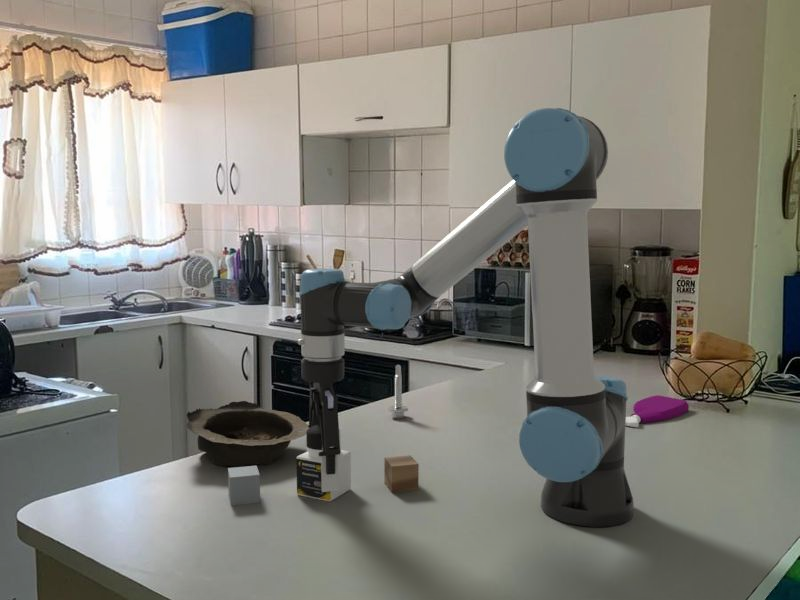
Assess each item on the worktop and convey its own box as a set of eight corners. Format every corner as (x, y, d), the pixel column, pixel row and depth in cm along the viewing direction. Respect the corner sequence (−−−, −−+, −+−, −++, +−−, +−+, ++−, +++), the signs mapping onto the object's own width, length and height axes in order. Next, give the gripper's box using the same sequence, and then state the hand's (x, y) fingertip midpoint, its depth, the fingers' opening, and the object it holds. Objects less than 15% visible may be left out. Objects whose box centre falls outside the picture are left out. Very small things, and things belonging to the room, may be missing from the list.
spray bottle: (692, 413, 196) (643, 434, 179) (652, 404, 203) (601, 424, 186) (693, 401, 195) (644, 421, 178) (652, 393, 203) (601, 412, 186)
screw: (408, 419, 187) (388, 419, 187) (407, 414, 192) (388, 414, 192) (408, 366, 186) (388, 366, 186) (407, 362, 191) (387, 362, 191)
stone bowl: (177, 443, 168) (179, 401, 167) (292, 440, 177) (294, 400, 176) (189, 480, 145) (192, 430, 144) (320, 474, 154) (323, 427, 153)
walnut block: (418, 490, 141) (418, 463, 141) (391, 493, 140) (391, 466, 139) (410, 481, 146) (410, 455, 146) (384, 483, 145) (384, 457, 144)
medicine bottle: (296, 495, 139) (295, 429, 137) (318, 482, 145) (317, 419, 143) (330, 502, 135) (329, 434, 134) (351, 489, 142) (351, 424, 140)
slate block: (260, 502, 136) (259, 474, 135) (230, 505, 134) (229, 477, 134) (257, 492, 140) (256, 465, 140) (228, 495, 139) (227, 468, 138)
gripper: (292, 347, 147) (293, 462, 150) (312, 371, 125) (314, 505, 128) (331, 345, 149) (332, 459, 152) (358, 368, 128) (358, 500, 130)
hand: (324, 480), depth 140 cm, fingers closed on medicine bottle, 10 cm apart
